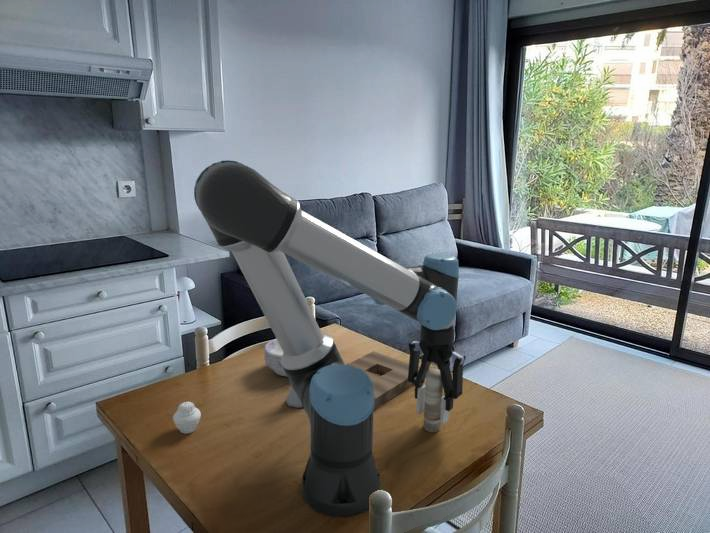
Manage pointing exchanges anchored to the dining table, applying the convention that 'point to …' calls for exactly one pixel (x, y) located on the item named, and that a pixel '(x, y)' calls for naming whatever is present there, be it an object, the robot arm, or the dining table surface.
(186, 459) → the dining table surface
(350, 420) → the robot arm
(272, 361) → the paper bowls
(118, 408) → the dining table surface
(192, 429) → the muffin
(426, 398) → the peg
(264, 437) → the dining table surface
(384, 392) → the board
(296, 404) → the flask
